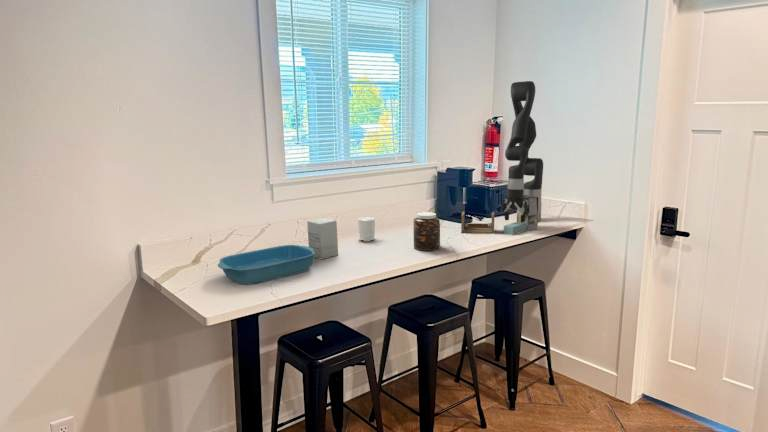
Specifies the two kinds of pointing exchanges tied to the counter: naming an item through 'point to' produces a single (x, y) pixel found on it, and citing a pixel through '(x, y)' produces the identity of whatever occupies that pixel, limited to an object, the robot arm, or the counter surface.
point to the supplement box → (323, 237)
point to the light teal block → (514, 228)
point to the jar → (426, 232)
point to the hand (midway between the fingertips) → (514, 221)
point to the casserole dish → (267, 263)
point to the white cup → (366, 228)
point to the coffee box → (530, 213)
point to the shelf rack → (477, 226)
